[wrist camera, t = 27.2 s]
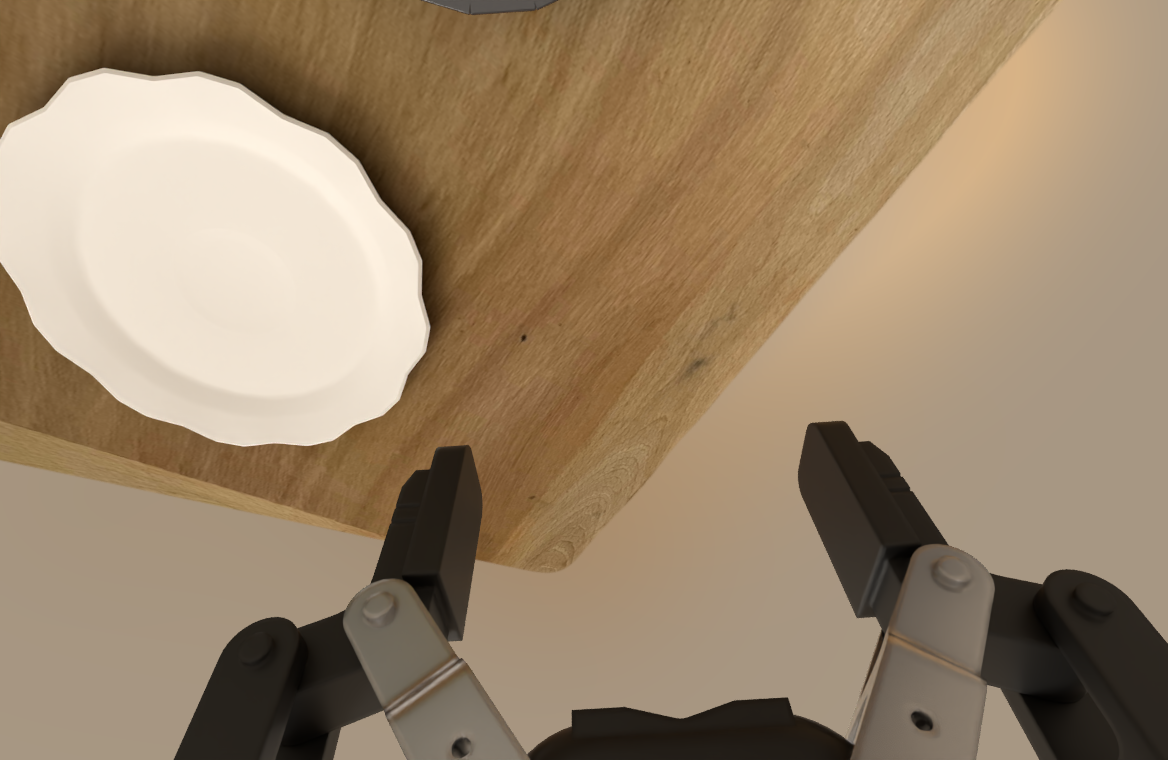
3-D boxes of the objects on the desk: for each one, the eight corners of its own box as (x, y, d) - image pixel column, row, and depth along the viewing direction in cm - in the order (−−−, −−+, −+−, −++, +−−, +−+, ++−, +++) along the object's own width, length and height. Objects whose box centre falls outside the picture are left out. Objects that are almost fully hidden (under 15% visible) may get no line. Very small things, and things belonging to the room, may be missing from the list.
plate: (232, -35, 29) (214, -37, 27) (502, 343, 41) (500, 357, 40) (-83, 207, 34) (-114, 217, 33) (241, 476, 47) (230, 492, 45)
